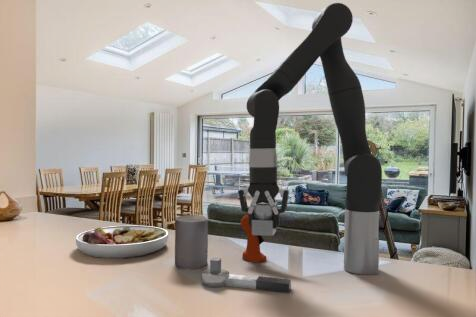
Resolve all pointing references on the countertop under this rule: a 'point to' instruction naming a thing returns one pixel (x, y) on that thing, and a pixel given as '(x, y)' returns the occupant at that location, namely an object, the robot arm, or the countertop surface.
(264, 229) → the cylinder on square block
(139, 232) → the bowl
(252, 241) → the toy drill
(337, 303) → the countertop surface
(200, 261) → the pillar candle
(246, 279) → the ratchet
